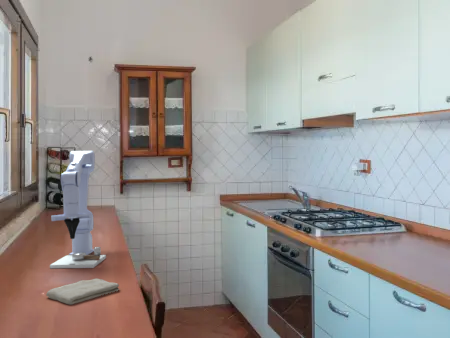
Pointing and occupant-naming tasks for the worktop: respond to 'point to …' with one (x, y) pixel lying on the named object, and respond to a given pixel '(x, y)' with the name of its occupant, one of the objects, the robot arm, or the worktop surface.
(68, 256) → the base
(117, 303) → the worktop surface
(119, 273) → the worktop surface
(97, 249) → the silver piece
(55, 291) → the washcloth
